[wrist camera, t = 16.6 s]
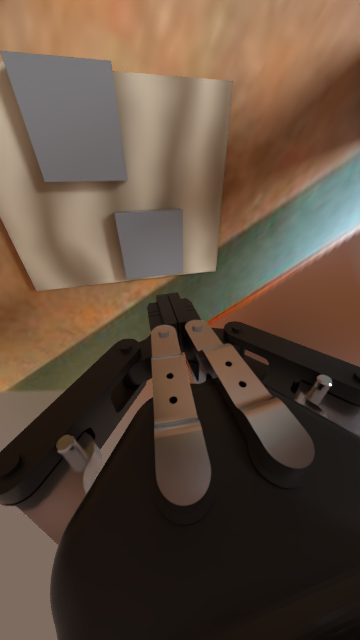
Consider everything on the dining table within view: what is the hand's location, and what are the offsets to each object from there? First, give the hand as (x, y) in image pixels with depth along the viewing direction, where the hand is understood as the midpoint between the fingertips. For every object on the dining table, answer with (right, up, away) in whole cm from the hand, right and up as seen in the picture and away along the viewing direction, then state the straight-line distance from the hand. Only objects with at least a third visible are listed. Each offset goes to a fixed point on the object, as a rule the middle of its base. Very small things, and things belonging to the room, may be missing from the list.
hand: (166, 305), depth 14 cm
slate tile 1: (-5, +18, +5) cm, 19 cm away
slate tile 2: (+1, +10, +13) cm, 16 cm away
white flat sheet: (-7, +14, +11) cm, 19 cm away
